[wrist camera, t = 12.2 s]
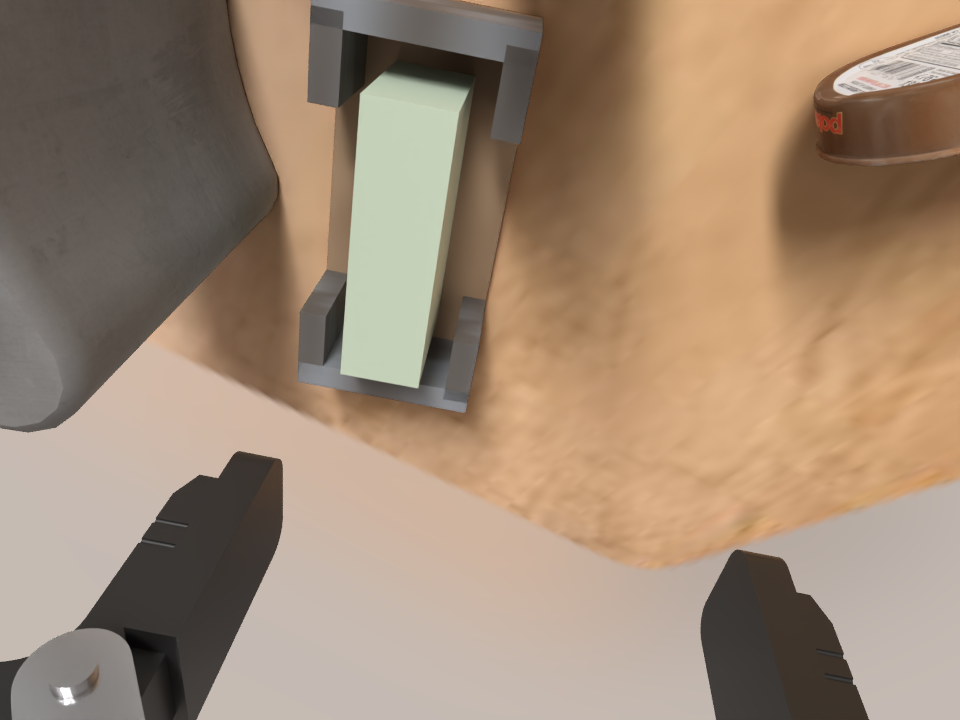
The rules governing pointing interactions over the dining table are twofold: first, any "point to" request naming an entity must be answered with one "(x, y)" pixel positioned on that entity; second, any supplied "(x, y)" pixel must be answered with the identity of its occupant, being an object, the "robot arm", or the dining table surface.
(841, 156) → the tin
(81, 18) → the flask
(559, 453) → the dining table surface
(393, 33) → the cradle
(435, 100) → the slat
